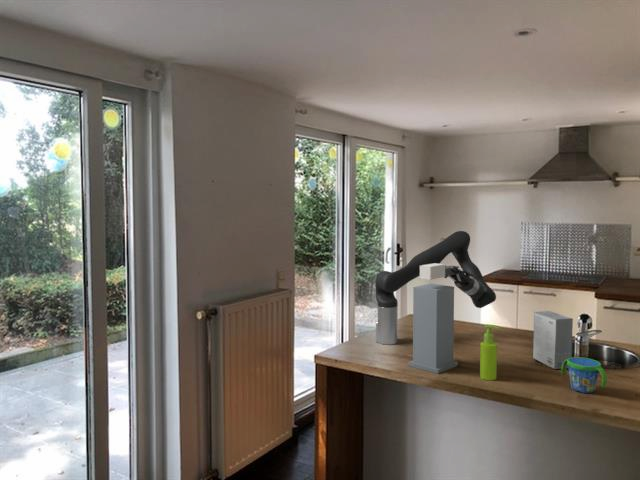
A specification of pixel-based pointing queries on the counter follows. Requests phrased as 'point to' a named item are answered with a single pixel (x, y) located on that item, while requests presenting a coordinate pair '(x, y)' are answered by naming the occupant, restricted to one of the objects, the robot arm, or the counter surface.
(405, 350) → the counter surface
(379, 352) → the counter surface
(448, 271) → the block
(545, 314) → the hard drive box
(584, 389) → the snack cup
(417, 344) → the grey rectangular pillar
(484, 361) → the soap dispenser
